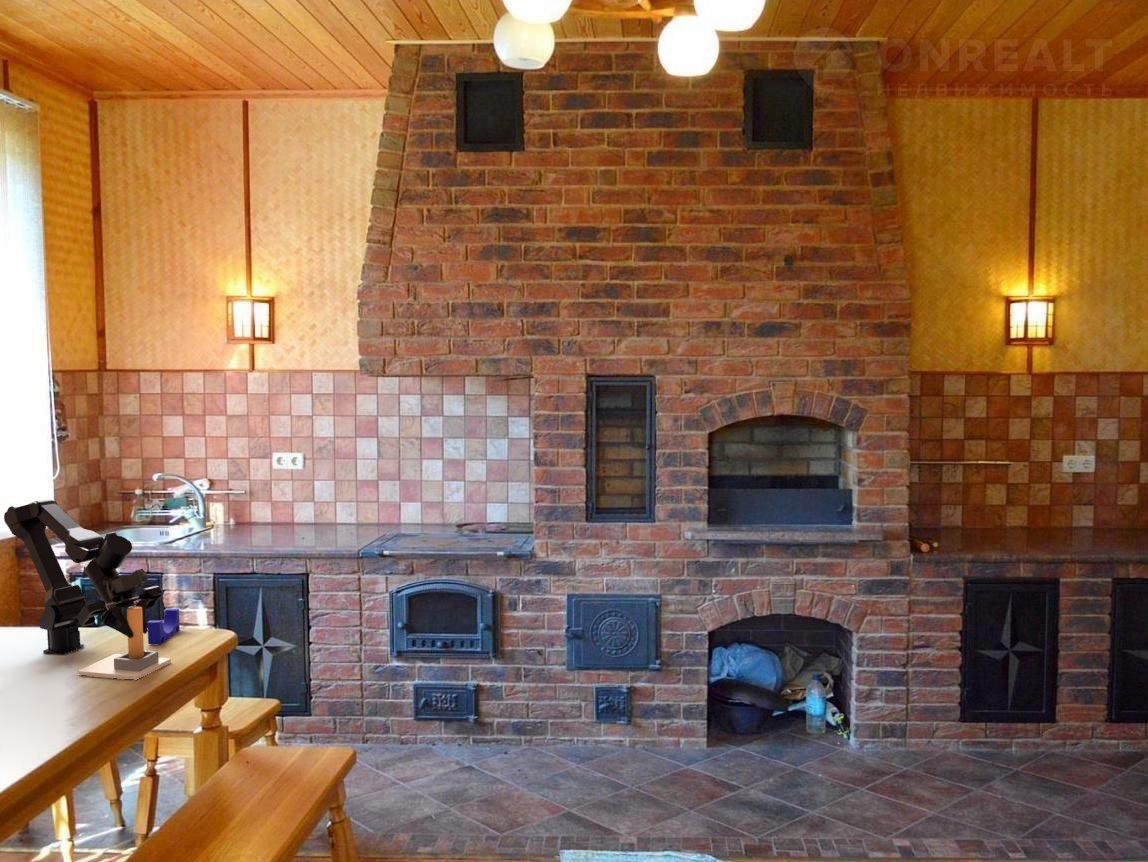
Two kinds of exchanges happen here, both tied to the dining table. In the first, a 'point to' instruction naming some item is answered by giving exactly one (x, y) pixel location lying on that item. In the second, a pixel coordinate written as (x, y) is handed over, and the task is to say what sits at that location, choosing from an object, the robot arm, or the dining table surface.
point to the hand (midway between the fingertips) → (139, 634)
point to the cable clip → (164, 627)
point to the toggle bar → (135, 633)
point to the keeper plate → (125, 666)
